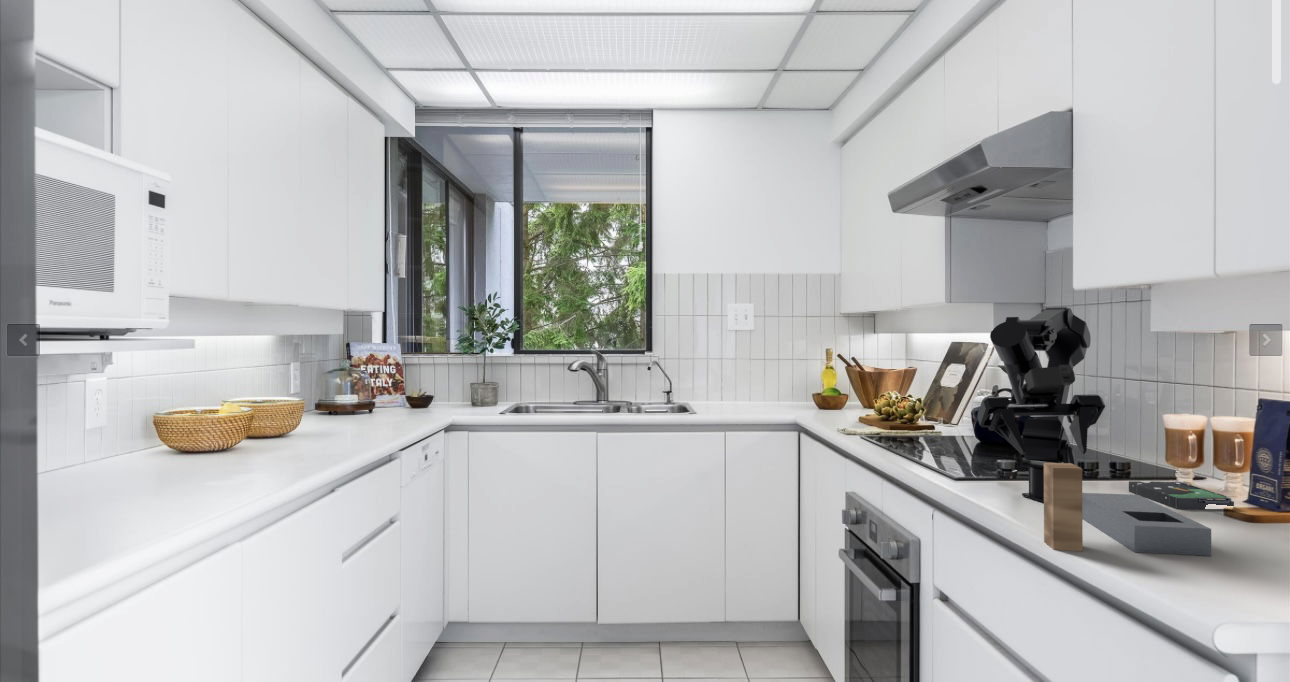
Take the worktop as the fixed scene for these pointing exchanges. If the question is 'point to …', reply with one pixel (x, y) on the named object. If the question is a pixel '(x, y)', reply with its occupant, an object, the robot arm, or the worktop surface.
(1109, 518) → the block
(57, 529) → the worktop surface
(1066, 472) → the walnut peg
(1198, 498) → the disk drive
